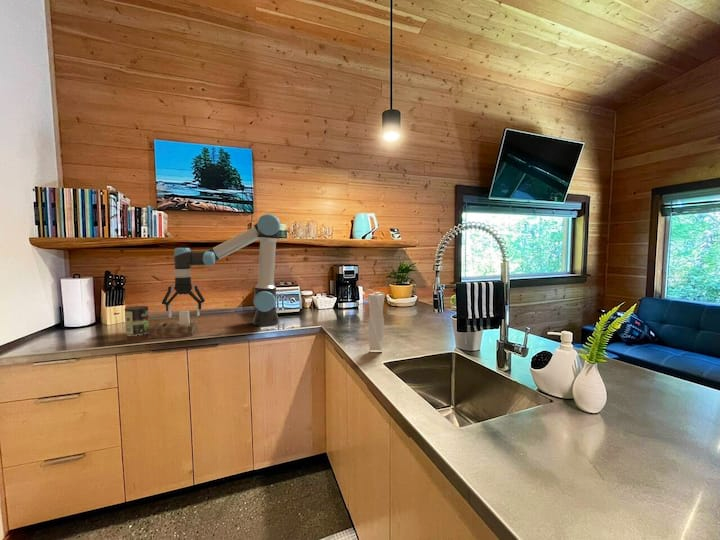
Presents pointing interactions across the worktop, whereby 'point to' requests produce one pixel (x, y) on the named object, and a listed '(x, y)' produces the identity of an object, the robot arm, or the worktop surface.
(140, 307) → the coffee can
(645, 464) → the worktop surface
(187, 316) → the square peg
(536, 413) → the worktop surface
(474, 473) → the worktop surface
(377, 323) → the skyscraper
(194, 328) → the socket block
